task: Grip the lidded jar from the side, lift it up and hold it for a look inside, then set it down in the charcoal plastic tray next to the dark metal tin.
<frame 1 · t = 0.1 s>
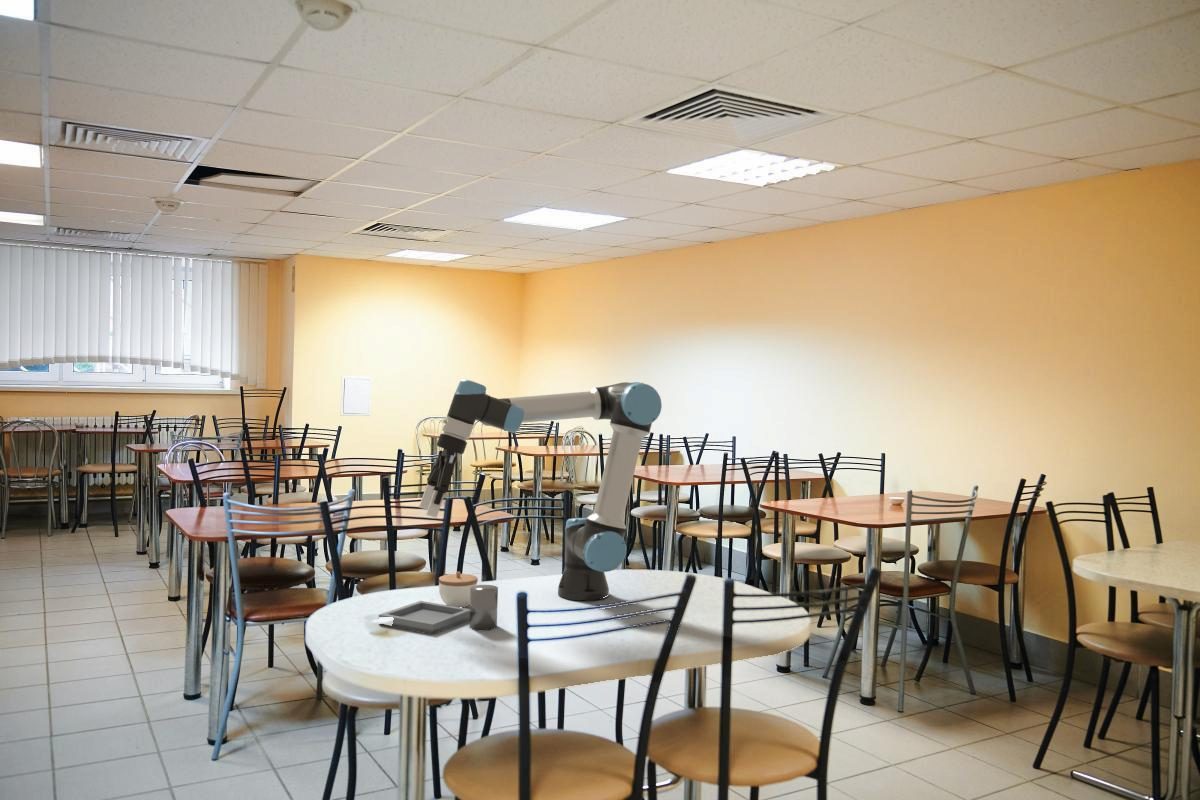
hand: (427, 512, 232), 28 cm above the table, tool tilted 20°, fingers open, 13 cm apart
lidded jar: (457, 606, 245), on the table
metal tin: (483, 626, 225), on the table
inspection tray: (426, 621, 228), on the table
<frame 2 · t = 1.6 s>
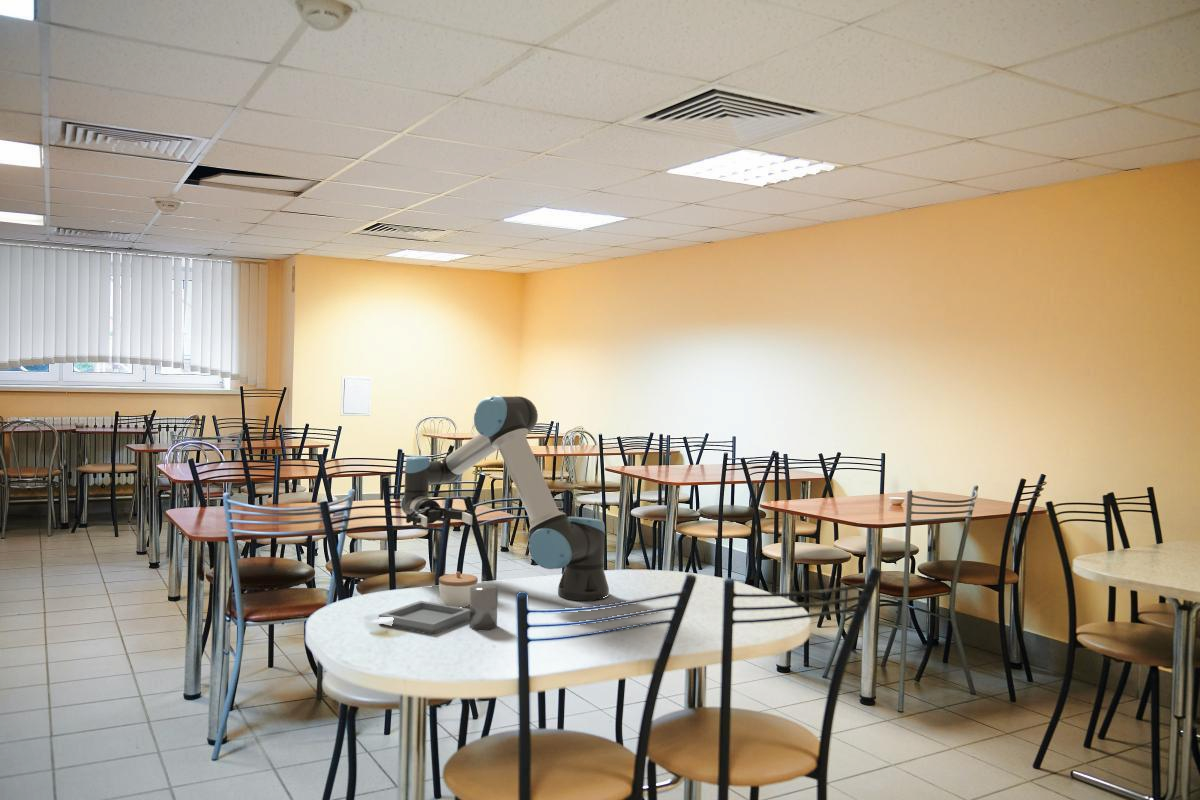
hand: (448, 521, 253), 22 cm above the table, tool horizontal, fingers open, 13 cm apart
nothing on the table moved.
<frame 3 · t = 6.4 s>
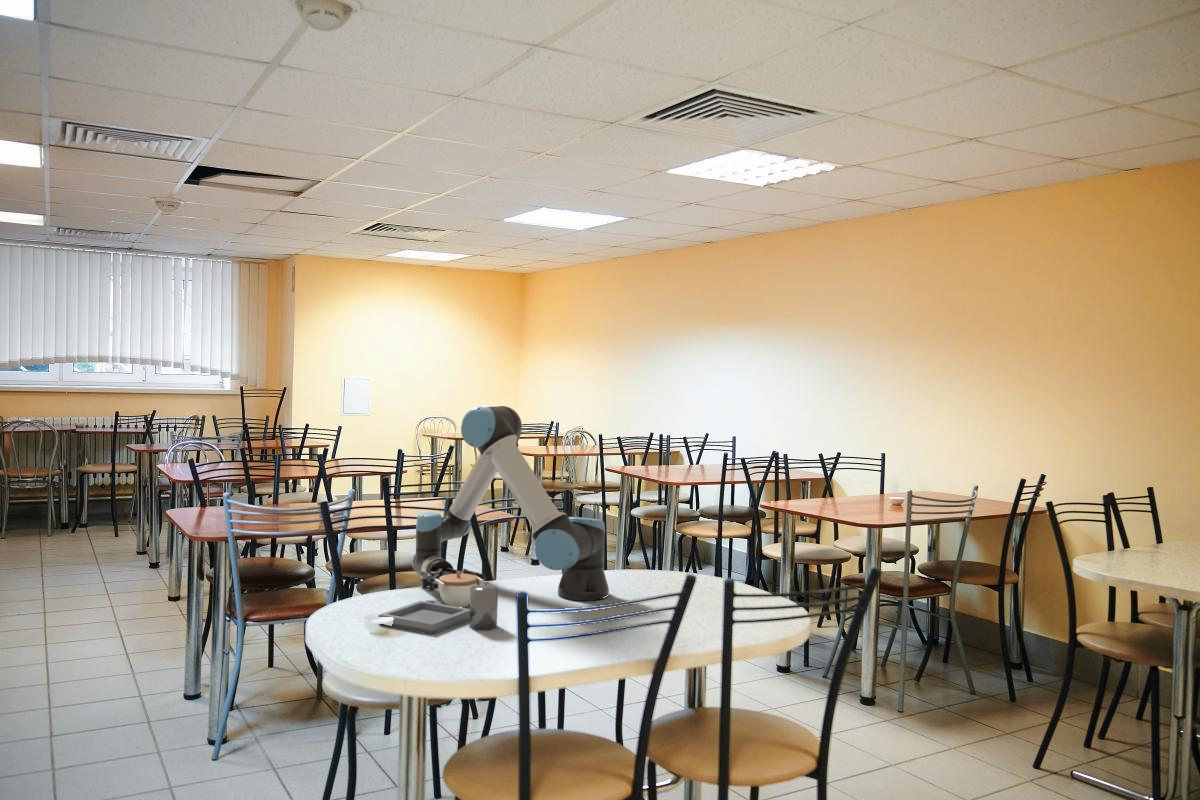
hand: (463, 587, 242), 6 cm above the table, tool horizontal, fingers closed on lidded jar, 11 cm apart
lidded jar: (457, 606, 245), on the table, touching gripper
everything else where it was.
when the fingers open (8 cm above the table, at t = 13.4 s): lidded jar drops 1 cm, resting on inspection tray.
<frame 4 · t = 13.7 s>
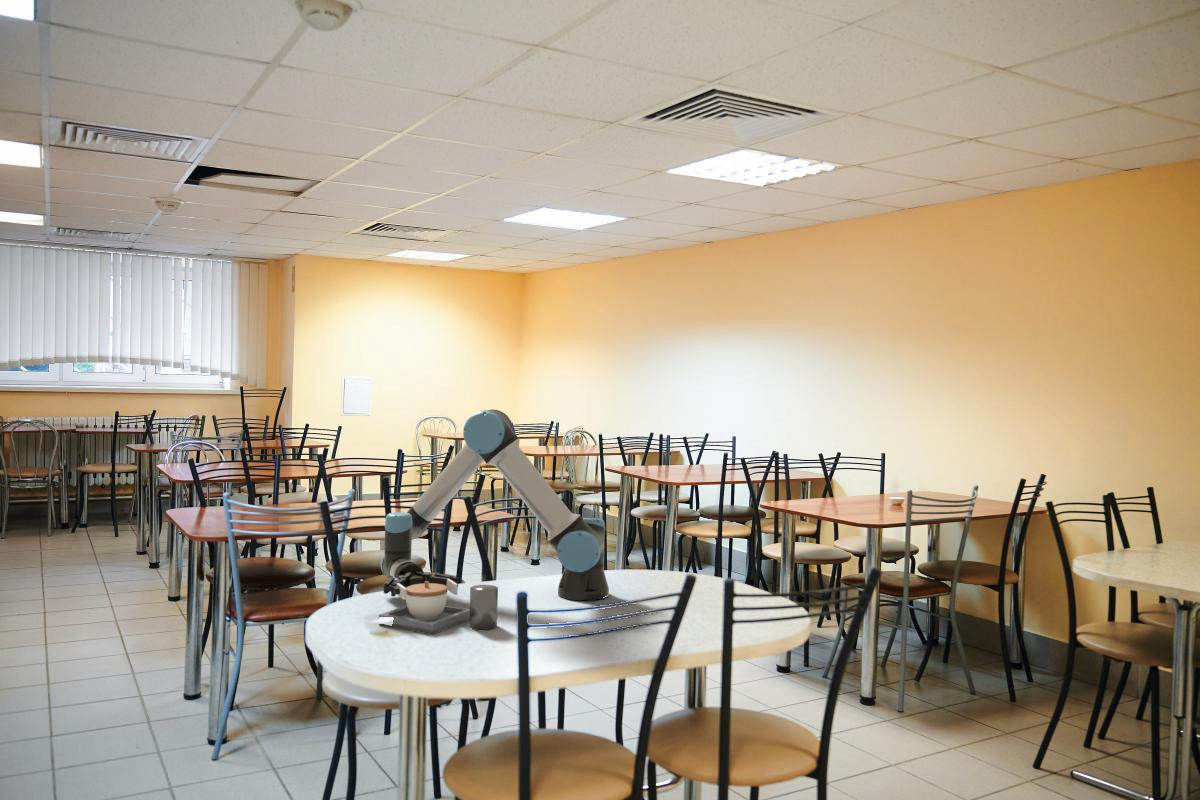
hand: (430, 591, 225), 8 cm above the table, tool horizontal, fingers open, 13 cm apart
lidded jar: (426, 618, 228), point 1 cm above the table, touching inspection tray
everything else where it was.
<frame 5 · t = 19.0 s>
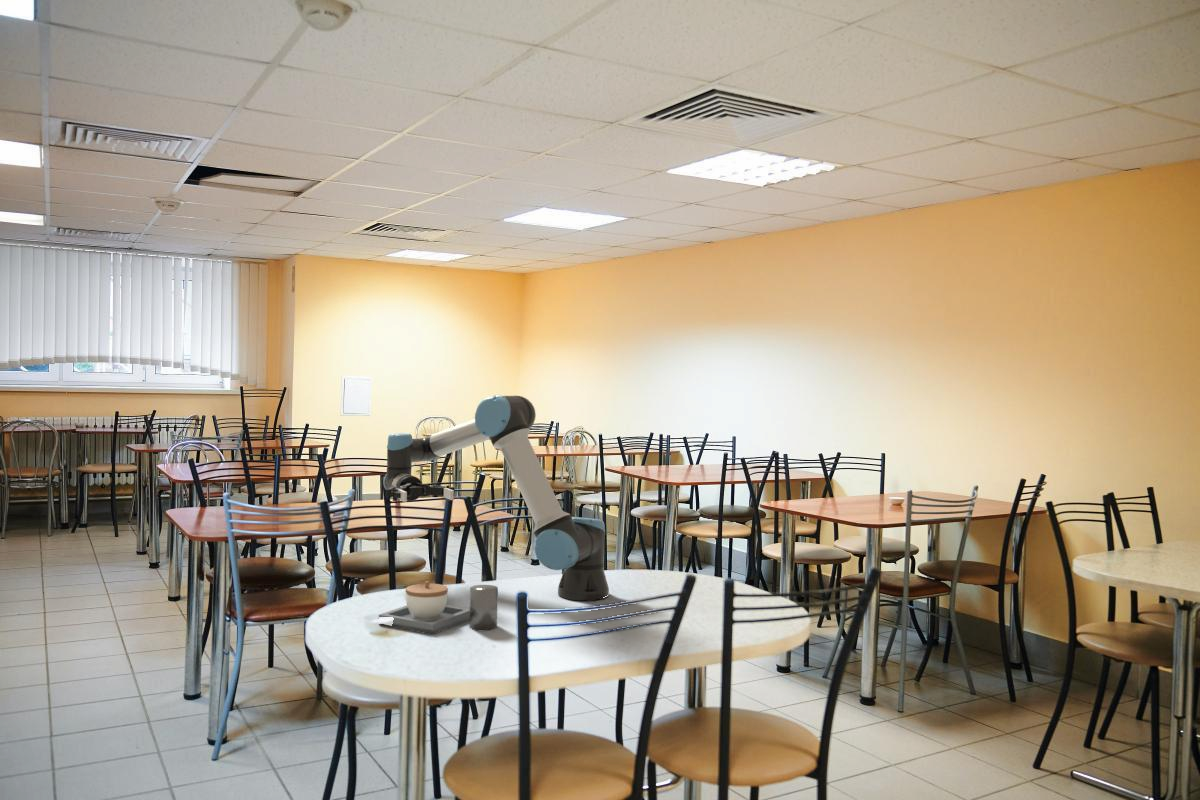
hand: (429, 496, 247), 30 cm above the table, tool horizontal, fingers open, 13 cm apart
nothing on the table moved.
at the end: lidded jar inside the target area on the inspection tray (0.0 cm from its centre), point 0.8 cm above the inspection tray's base; lidded jar tilted 0°; the gripper is holding nothing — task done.
